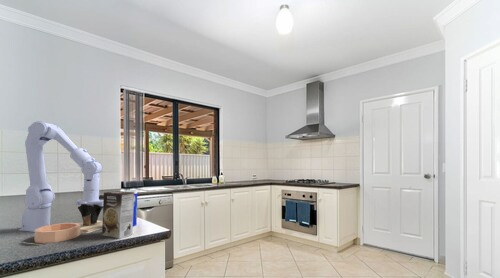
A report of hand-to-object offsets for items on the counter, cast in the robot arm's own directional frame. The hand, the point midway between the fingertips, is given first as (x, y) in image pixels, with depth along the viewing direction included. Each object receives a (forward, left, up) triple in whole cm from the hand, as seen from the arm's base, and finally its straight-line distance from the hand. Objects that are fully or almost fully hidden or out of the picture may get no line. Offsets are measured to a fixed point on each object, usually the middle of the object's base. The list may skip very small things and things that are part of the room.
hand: (90, 222), depth 110 cm
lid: (0, 0, -2) cm, 2 cm away
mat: (0, 0, -2) cm, 2 cm away
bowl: (+2, -15, -2) cm, 15 cm away
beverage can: (+15, +6, -2) cm, 16 cm away
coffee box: (+20, -6, -2) cm, 21 cm away
